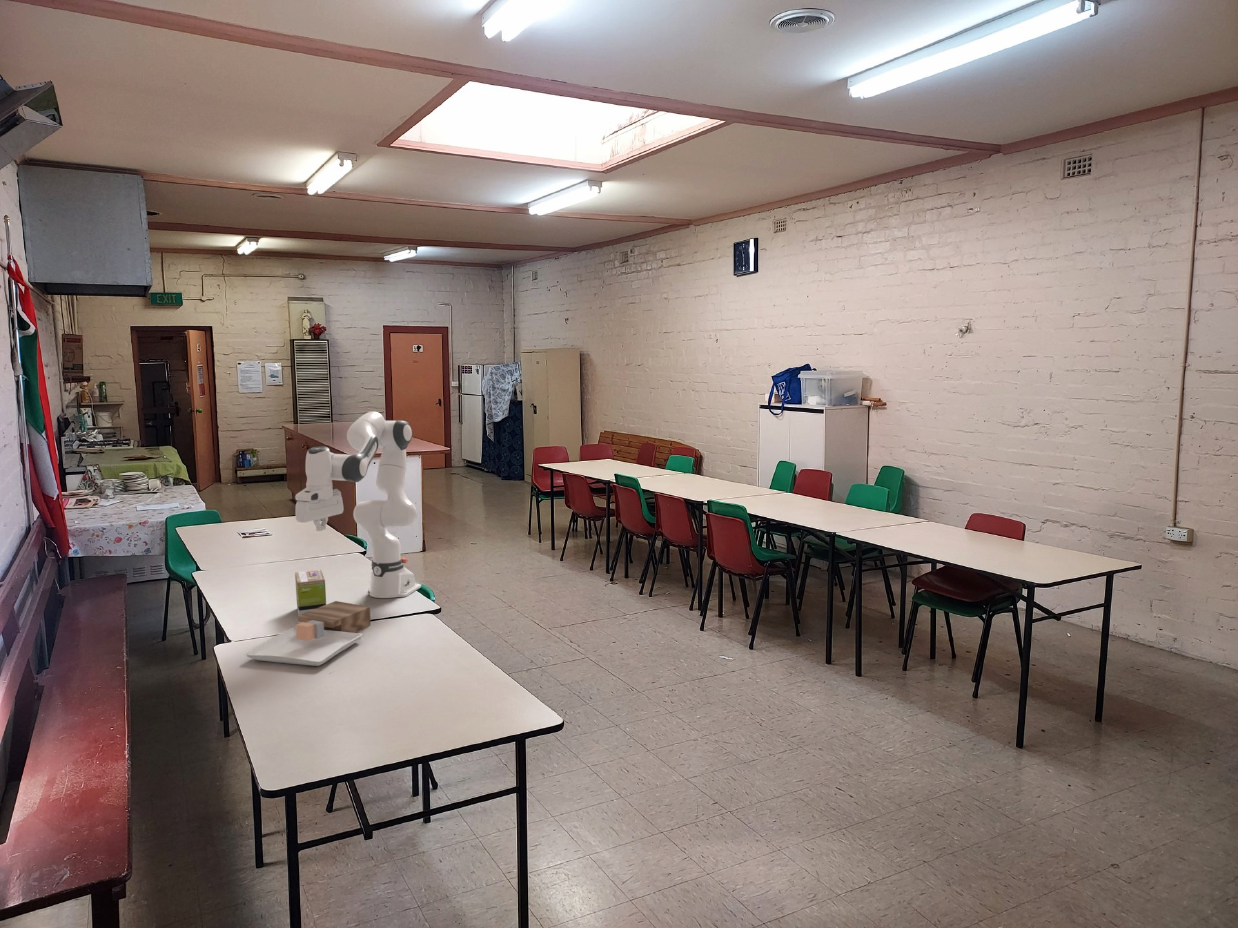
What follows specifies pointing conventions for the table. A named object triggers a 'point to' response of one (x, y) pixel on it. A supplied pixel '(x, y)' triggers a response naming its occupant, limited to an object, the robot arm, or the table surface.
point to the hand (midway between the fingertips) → (321, 530)
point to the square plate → (303, 648)
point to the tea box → (310, 590)
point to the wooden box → (339, 616)
